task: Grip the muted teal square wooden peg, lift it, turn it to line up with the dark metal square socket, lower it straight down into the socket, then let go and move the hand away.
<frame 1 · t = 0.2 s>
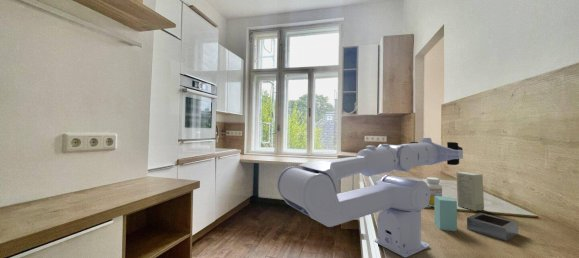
hand: (445, 150, 62), 21 cm above the counter, tool horizontal, fingers open, 7 cm apart
peg: (445, 227, 62), on the counter
skincare box: (469, 208, 78), on the counter
socket: (491, 231, 59), on the counter
supplement bottle: (433, 205, 81), on the counter
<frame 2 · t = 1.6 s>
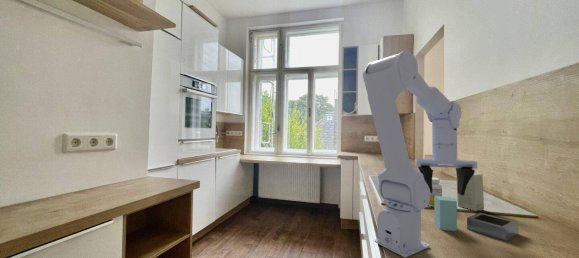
hand: (444, 193, 62), 9 cm above the counter, tool pointing down, fingers open, 7 cm apart
nothing on the counter moved.
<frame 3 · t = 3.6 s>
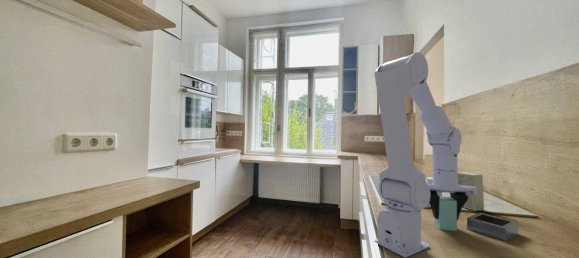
hand: (445, 218, 62), 2 cm above the counter, tool pointing down, fingers closed on peg, 4 cm apart
peg: (445, 227, 62), on the counter, touching gripper
everything else where it was.
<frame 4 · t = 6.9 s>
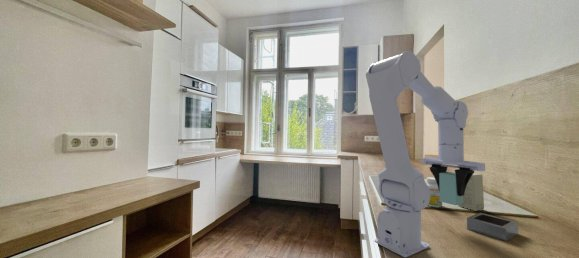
hand: (451, 193, 62), 9 cm above the counter, tool pointing down, fingers closed on peg, 4 cm apart
peg: (451, 202, 62), point 7 cm above the counter, touching gripper
everything else where it was.
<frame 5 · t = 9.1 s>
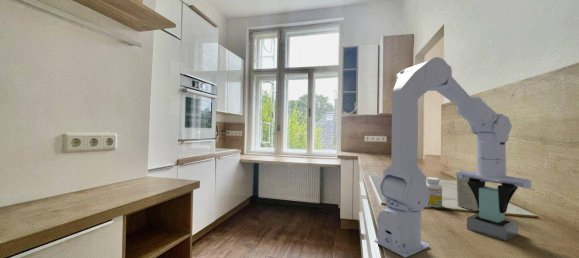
hand: (491, 209, 59), 6 cm above the counter, tool pointing down, fingers closed on peg, 4 cm apart
peg: (491, 218, 59), point 3 cm above the counter, touching gripper
everything else where it was.
when the fingers open (4 cm above the counter, at t = 10.7 s): peg stays where it is, resting on socket.
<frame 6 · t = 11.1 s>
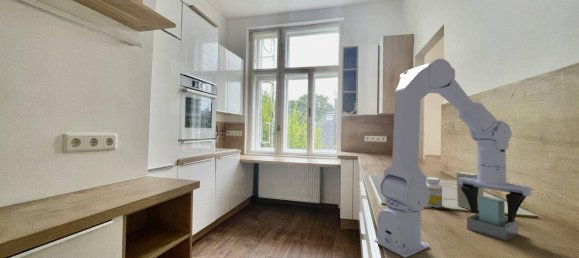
hand: (491, 216, 59), 4 cm above the counter, tool pointing down, fingers open, 7 cm apart
peg: (491, 229, 59), resting on socket
everything else where it was.
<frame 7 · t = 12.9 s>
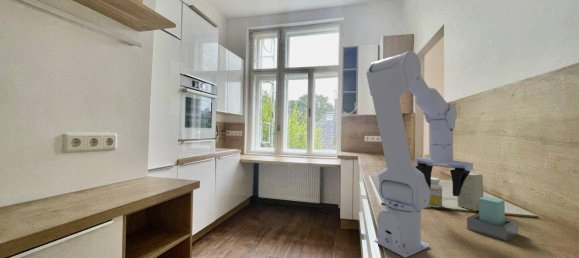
hand: (441, 192, 63), 9 cm above the counter, tool pointing down, fingers open, 7 cm apart
nothing on the counter moved.
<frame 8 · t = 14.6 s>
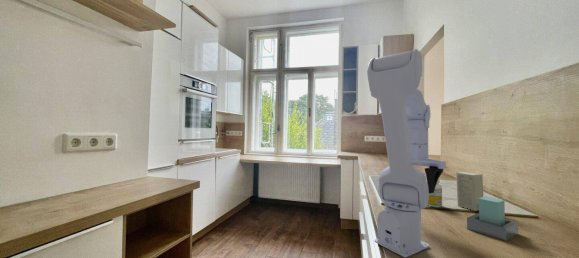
hand: (417, 189, 66), 9 cm above the counter, tool pointing down, fingers open, 7 cm apart
nothing on the counter moved.
at the end: peg 0.0 cm off-centre on the socket, point 0.5 cm above the socket's base; peg tilted 0°; the gripper is holding nothing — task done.
